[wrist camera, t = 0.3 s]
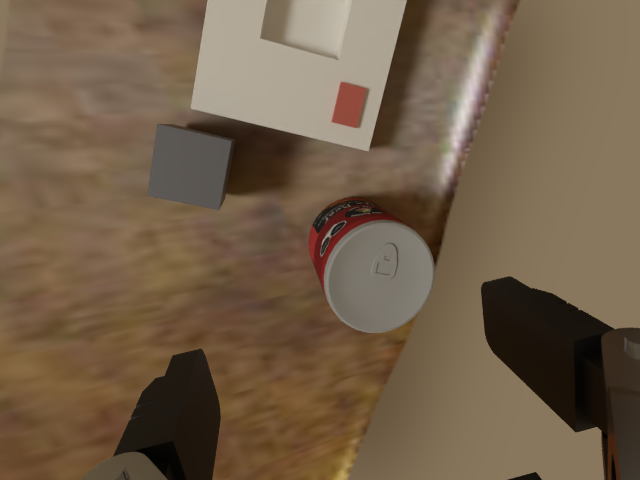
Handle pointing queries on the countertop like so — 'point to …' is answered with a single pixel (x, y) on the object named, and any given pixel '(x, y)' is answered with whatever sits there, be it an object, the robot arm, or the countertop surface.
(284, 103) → the socket plate
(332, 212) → the canned food
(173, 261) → the countertop surface
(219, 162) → the dark grey cube
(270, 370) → the countertop surface
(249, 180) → the countertop surface
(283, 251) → the countertop surface
